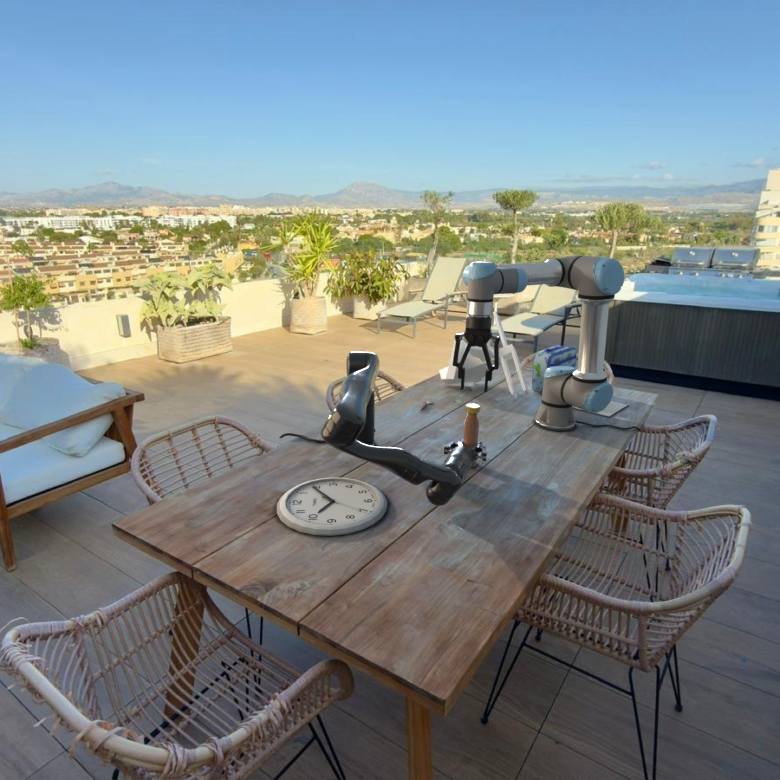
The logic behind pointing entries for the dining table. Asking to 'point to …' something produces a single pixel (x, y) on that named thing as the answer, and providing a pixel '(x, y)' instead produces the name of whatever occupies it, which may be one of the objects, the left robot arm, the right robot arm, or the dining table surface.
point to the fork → (427, 403)
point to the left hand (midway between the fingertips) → (472, 442)
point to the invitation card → (610, 408)
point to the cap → (472, 408)
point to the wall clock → (331, 506)
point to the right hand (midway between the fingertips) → (474, 389)
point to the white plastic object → (484, 363)
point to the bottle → (471, 431)
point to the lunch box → (551, 363)
